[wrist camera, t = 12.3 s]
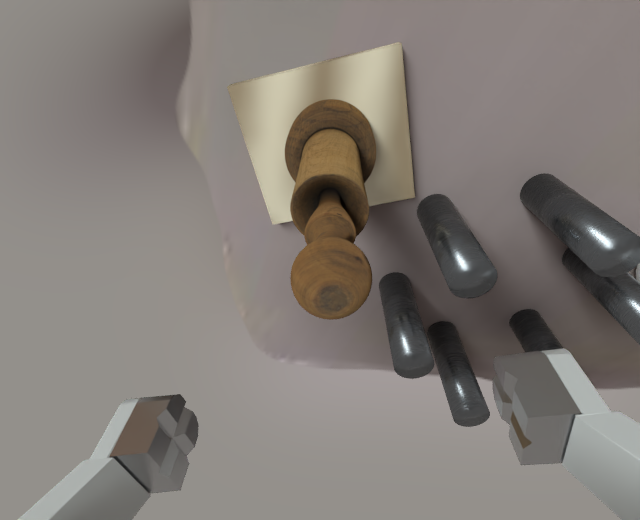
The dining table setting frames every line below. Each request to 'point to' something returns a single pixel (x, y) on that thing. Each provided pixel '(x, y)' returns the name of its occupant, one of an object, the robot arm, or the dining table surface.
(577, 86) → the dining table surface
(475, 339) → the dining table surface
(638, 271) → the wine bottle
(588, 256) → the capsules
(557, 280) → the dining table surface
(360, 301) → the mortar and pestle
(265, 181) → the birch board
